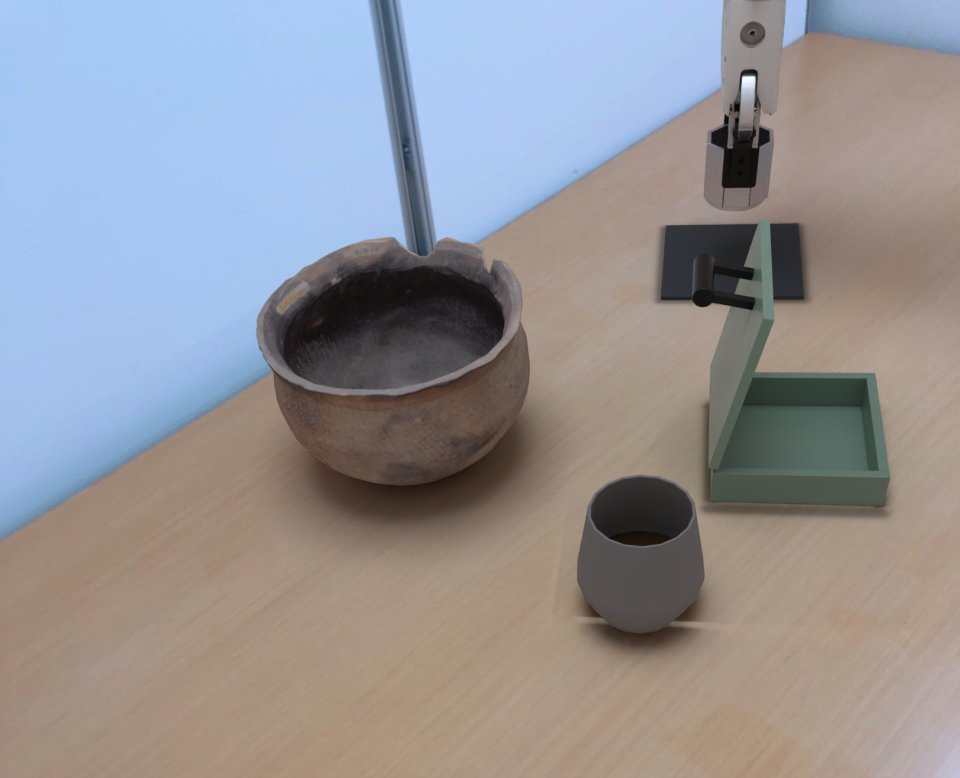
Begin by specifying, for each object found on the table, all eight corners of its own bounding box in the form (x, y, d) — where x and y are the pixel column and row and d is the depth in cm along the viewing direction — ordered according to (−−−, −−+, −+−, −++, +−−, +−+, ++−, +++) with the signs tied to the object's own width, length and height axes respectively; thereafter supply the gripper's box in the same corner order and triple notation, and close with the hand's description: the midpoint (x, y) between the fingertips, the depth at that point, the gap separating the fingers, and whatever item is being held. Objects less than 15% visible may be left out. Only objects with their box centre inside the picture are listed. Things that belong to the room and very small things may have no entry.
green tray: (868, 408, 97) (875, 372, 94) (881, 513, 89) (890, 477, 86) (711, 406, 99) (714, 371, 97) (709, 508, 91) (712, 473, 88)
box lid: (770, 220, 85) (701, 207, 85) (774, 320, 77) (698, 305, 77) (718, 367, 96) (658, 356, 96) (717, 470, 88) (651, 457, 88)
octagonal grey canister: (766, 180, 111) (772, 120, 106) (767, 212, 107) (774, 151, 102) (703, 181, 112) (707, 122, 107) (702, 213, 108) (706, 153, 103)
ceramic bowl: (574, 401, 102) (568, 253, 91) (476, 558, 90) (455, 410, 78) (366, 360, 109) (337, 218, 98) (250, 500, 97) (201, 357, 86)
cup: (722, 589, 85) (733, 491, 77) (665, 670, 80) (670, 575, 73) (615, 547, 89) (615, 451, 81) (555, 622, 84) (548, 528, 77)
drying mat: (797, 226, 118) (798, 223, 118) (803, 299, 109) (804, 296, 109) (665, 228, 120) (666, 225, 120) (660, 300, 111) (660, 296, 111)
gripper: (806, 1, 87) (780, 213, 101) (797, -75, 98) (775, 126, 112) (710, 5, 89) (697, 214, 102) (712, -70, 100) (700, 128, 113)
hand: (738, 167), depth 107 cm, fingers closed on octagonal grey canister, 6 cm apart
